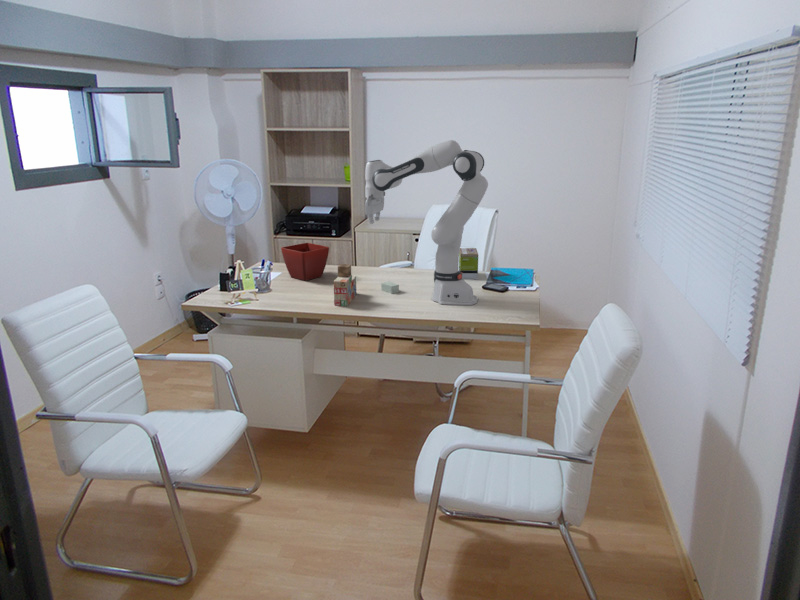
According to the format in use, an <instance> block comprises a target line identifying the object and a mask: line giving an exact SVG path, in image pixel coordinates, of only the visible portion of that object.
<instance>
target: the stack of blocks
mask: <svg viewBox="0 0 800 600" xmlns="http://www.w3.org/2000/svg"><path fill="white" fill-rule="evenodd" d="M356 295H357V276H356V275H352V274H351V275H350V276H349V277H338V276H337V277H336V278H335V279H334V280H333V298H334V299H333V300H334V301H333V303H334V304H333V305H335V307H336V306H337V307H348V306H349V304H350V303H351V302H352V300H353V299H354V297H355V296H356Z"/></svg>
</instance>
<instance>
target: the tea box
mask: <svg viewBox="0 0 800 600" xmlns="http://www.w3.org/2000/svg"><path fill="white" fill-rule="evenodd" d="M458 271H459V272H462V279H477V280H478V275H479V274H478V273H479V252H478V250H477V248H476V247H460V251H459V262H458Z"/></svg>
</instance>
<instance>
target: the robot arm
mask: <svg viewBox="0 0 800 600" xmlns="http://www.w3.org/2000/svg"><path fill="white" fill-rule="evenodd" d="M449 166H452V167H453V171H454V172H455V174H456V175H457V176H458V177H459V179H461V180H462V181H463V184H462V186H461V187H460V188H459V190H458V192H457V193H456V195H455V197H454V199H453V200H452V201H451V203H450V204H449V206H448V207H447V208H446V210H445V211H444V212H443V214H442V215H441V217H440V218H439V220H438V221H437V222H436V224H435V225H434V227H433V228H432V230H431V233H430V235H431V236H430V237H431V239H432V241H433V243H434V244H436V245H438V246H437V249H436V252H435V266H434V267H435V269H434V272H433V282H434V285H433V290H432V291H433V292H432V295H431V298H430V300H432V301H434V302H436V303H438V304H440V305H449V306H451V305H454V306H456V305H457V306H459V305H460V306H462V305H463V306H473V305H475V304H477V302H478V298H479V297H478V296H477V295H475V294H474V290H473V287H472V285H470V284H469V283H468V282H466V281H465V280H463V279H462V272H459V251H460V248H461V244H462V241H463V240H462V239H463V233H464V231H465V230H464V227H465V225H466V224H467V223H468V221H469V220H470V219H471V217H472V216H473V214H474V213H475V211H476V209H477V208H478V207H479V205H480V203H481V202H482V200H483V198H484V196H485V194H486V192H487V189H488V186H489V182H488V180H487V178H486V177H485V176H483V175H482V174H481V172H482V171H483V169H484V167H485V158H484V156H483V155H482V154H481V153H480V152H477V151H475V150H468V149H464V150H462V148H461V146H460V144H459V143H458V142H457V141H456V140H452V139H451V140H447V141H442V142H439V143H437V144H435V145H431V146H429V147H427V149H424V150H423V151H422V152H420V153H419V154H418V155H417V154H416V156H414V157H413V158H411V159H409V160H407V161H405V162H404V163H403V162H402V163H401V164H398V165H396V166H394V167H393V166H391V165H389V164H387V163H385V162H384V161H383V160H382V159H376V160H375V159H374V160H370V161H368V162H366V164H365V171H364V175H365V176H364V179H365V189H364V191H365V195H364V197H365V199H366V200H365V205H364V214H365V216H368V220H369V224H370V225H372V224H374V223H375V222H374V221H376V222H377V221H379V220H380V216H381V211H383V210H384V206H385V196H386V192H385V191H387V190H390V189H393V188H397V187H398V186H400V185H401V184H402V182H403V179H405V178H407V177H411V176H413V175H417V174H426V173H428V174H429V173H432V172H433V173H434V172H437V171H439V170H442V169H445V168H447V167H449ZM374 215H375V217H374ZM374 219H375V220H374Z"/></svg>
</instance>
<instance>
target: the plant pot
mask: <svg viewBox="0 0 800 600" xmlns="http://www.w3.org/2000/svg"><path fill="white" fill-rule="evenodd" d="M280 249H281V254H282V257H283V261H284V264H285V266H286V269H287V272H288V274H289V276H290V278H292V279H293V278H294V279H297V280H300V281H310V280H312V279H313V280H314V279H318V278H322V277H323V275H324V272H325V269H326V265H327V262H328V257H329V251H330V247H329V246H326V245H321V244H316V243H311V242H303V243H297V244H294V245H293V244H292V245H288V246H287V245H285V246H281V248H280Z"/></svg>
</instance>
